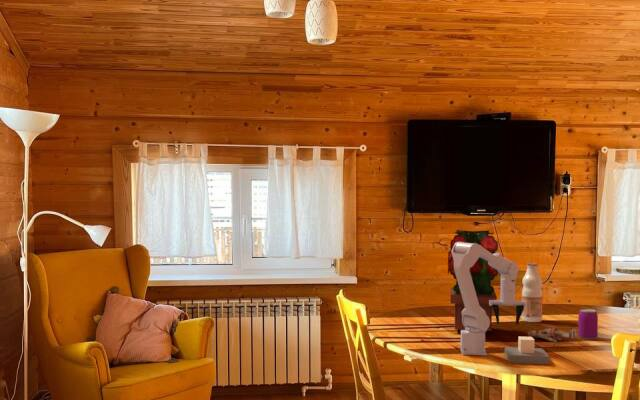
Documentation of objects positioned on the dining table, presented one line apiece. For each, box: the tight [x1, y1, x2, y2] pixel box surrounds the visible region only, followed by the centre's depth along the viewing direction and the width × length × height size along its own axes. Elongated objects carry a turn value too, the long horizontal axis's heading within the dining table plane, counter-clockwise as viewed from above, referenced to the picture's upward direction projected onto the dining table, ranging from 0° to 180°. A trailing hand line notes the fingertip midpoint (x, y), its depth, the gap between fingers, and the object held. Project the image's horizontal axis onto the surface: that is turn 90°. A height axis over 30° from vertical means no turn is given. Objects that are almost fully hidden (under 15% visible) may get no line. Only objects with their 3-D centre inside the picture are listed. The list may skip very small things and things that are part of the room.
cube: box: [517, 336, 535, 353], centre depth 242 cm, size 5×5×5 cm
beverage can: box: [577, 308, 599, 341], centre depth 276 cm, size 8×8×12 cm
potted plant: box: [447, 229, 501, 335], centre depth 289 cm, size 22×22×45 cm
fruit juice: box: [521, 262, 543, 323], centre depth 311 cm, size 9×9×28 cm
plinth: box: [504, 346, 550, 366], centre depth 242 cm, size 14×12×3 cm
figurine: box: [527, 327, 577, 343], centre depth 271 cm, size 6×6×20 cm
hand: (507, 323), depth 261 cm, fingers open, 7 cm apart
